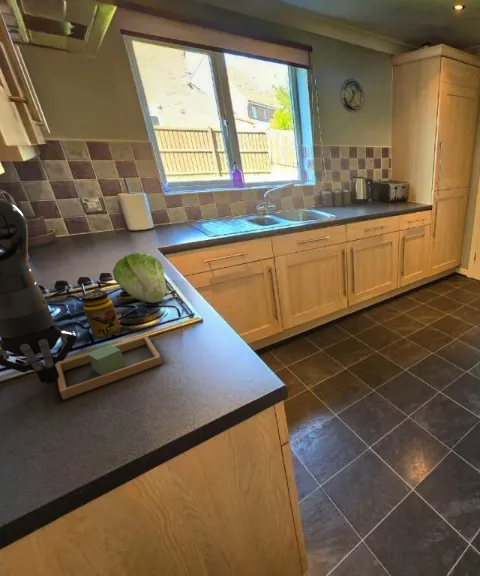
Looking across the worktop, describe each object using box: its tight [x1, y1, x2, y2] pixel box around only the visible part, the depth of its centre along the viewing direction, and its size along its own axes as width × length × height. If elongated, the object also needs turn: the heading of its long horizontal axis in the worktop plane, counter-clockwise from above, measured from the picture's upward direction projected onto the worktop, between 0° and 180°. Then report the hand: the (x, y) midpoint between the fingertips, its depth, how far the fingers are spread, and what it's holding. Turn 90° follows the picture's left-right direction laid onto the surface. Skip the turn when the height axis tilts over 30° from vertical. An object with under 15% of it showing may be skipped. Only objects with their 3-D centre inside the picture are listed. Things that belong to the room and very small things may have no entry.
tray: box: [55, 335, 163, 400], centre depth 76 cm, size 18×13×3 cm
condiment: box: [81, 290, 122, 338], centre depth 88 cm, size 7×8×12 cm
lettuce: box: [112, 251, 167, 304], centre depth 110 cm, size 14×24×14 cm
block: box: [87, 343, 127, 376], centre depth 75 cm, size 4×4×4 cm
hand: (51, 380), depth 69 cm, fingers closed
